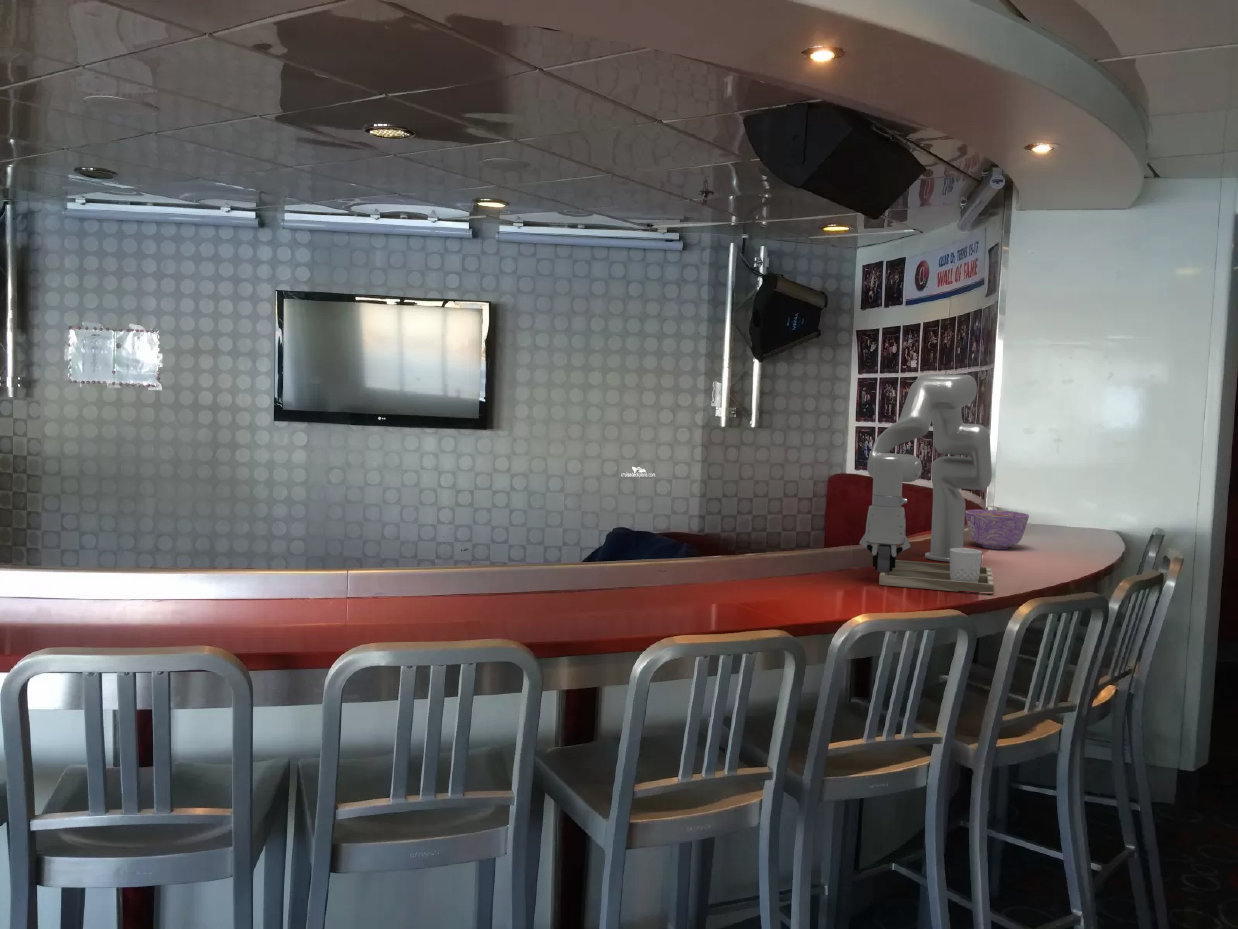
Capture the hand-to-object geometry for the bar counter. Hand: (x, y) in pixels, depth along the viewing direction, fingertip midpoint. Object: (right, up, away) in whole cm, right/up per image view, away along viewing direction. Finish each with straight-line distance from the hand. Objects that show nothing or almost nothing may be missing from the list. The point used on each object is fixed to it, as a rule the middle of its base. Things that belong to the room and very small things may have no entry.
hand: (883, 569), depth 261 cm
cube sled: (+17, -3, +9) cm, 20 cm away
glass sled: (+13, -4, -4) cm, 14 cm away
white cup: (+19, -4, -7) cm, 21 cm away
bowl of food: (+55, 0, +66) cm, 86 cm away
